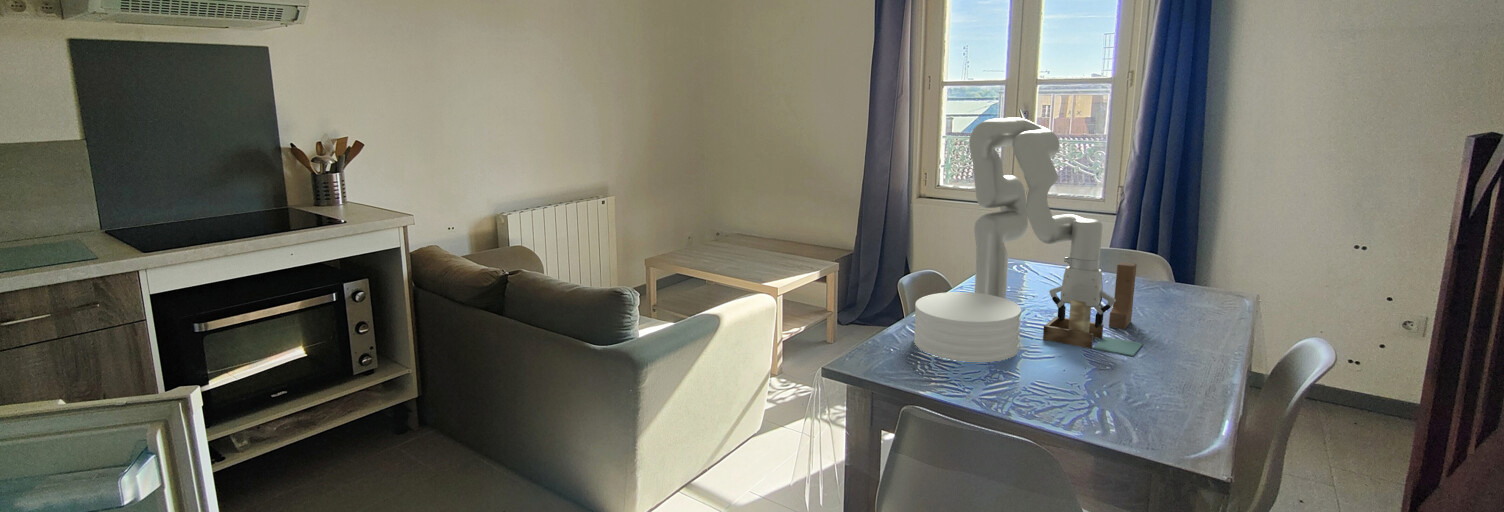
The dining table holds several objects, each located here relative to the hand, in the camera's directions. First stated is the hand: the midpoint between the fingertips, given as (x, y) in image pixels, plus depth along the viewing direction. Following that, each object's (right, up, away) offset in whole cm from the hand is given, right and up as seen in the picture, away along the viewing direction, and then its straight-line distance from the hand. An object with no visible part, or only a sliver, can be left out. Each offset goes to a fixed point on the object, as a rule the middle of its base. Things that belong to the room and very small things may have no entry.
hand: (1079, 323), depth 218 cm
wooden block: (+18, -2, +14) cm, 22 cm away
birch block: (0, -5, +1) cm, 5 cm away
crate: (-1, -4, +2) cm, 5 cm away
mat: (+8, -6, -5) cm, 12 cm away
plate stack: (-32, -6, -1) cm, 33 cm away
